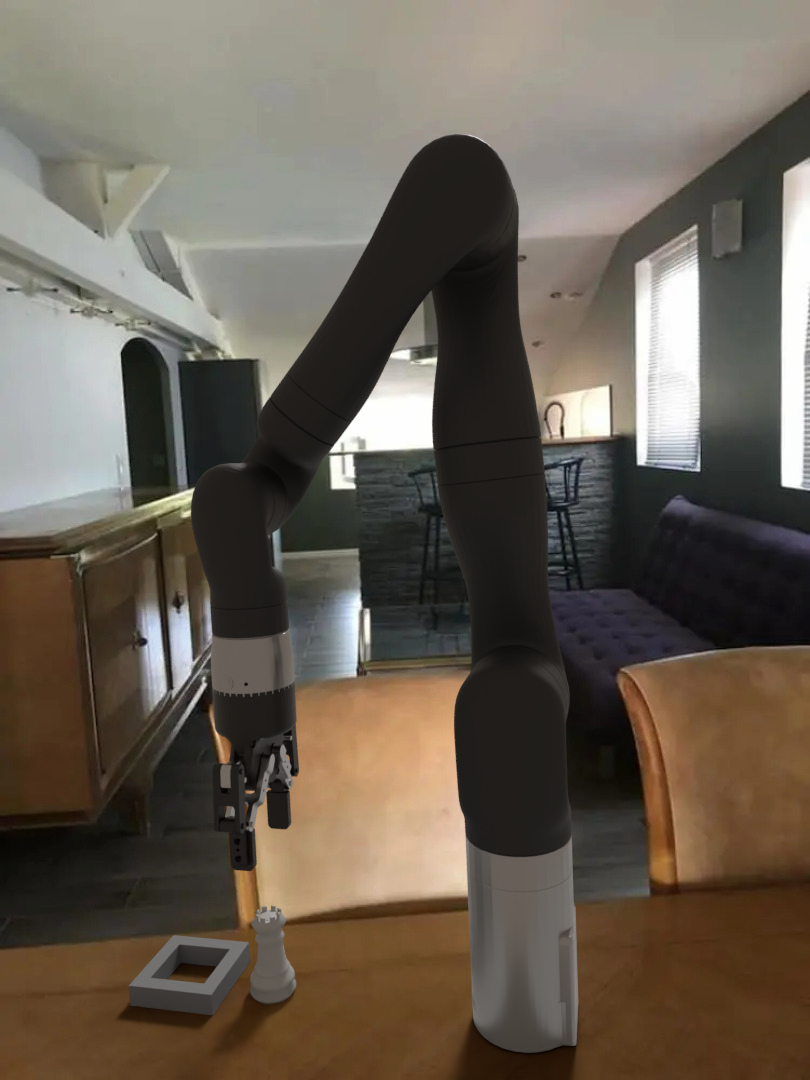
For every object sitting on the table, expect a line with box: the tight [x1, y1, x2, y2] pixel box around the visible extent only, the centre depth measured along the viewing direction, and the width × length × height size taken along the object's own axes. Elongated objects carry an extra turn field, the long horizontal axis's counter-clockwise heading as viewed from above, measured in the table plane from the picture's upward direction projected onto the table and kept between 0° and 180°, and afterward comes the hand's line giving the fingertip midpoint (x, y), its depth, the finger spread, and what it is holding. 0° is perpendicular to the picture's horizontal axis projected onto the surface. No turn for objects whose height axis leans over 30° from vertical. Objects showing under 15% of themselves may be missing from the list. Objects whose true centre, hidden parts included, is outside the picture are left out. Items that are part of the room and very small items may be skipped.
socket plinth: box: [128, 934, 251, 1016], centre depth 82 cm, size 8×8×2 cm
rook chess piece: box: [249, 904, 297, 1005], centre depth 80 cm, size 4×4×8 cm
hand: (263, 847), depth 79 cm, fingers open, 8 cm apart
